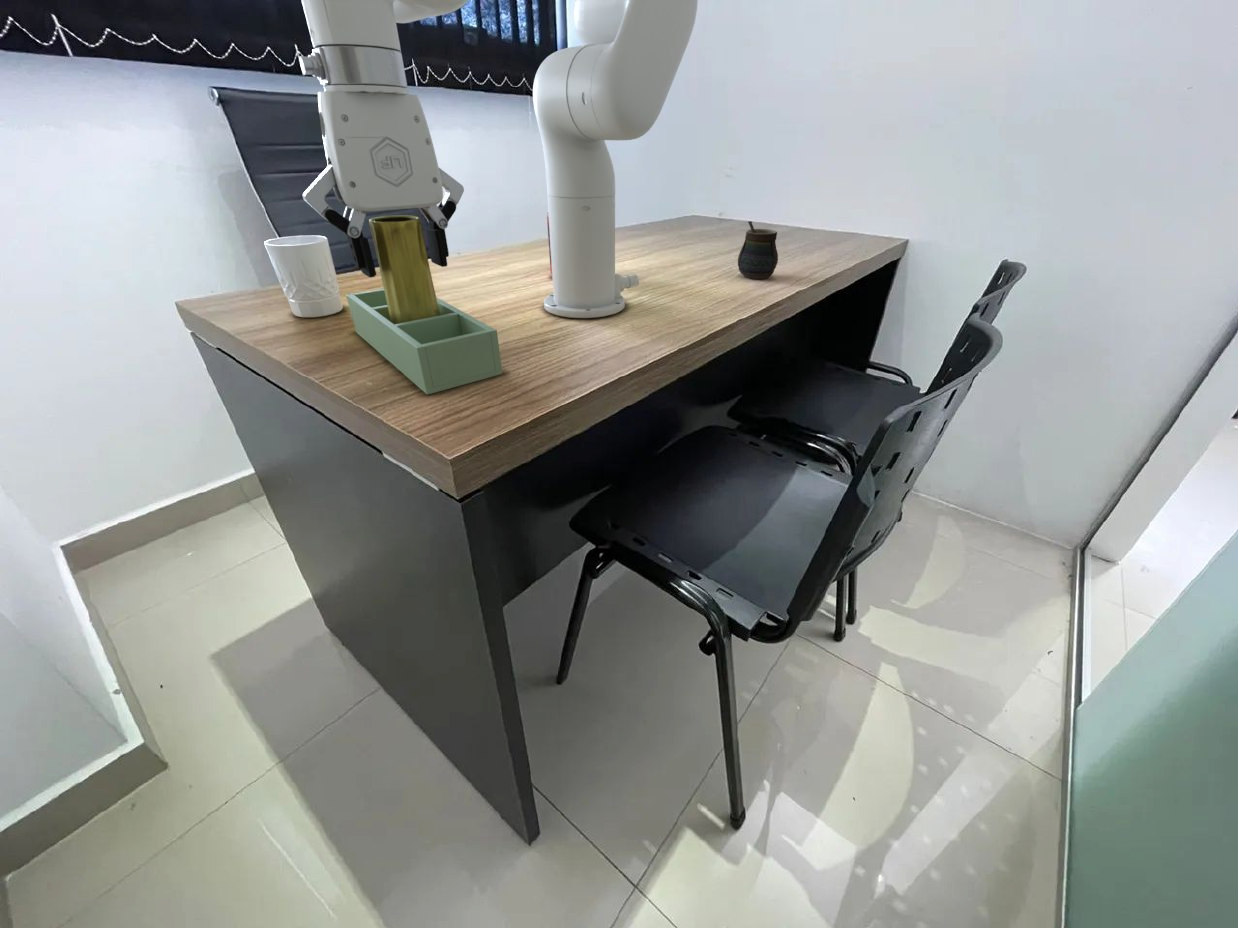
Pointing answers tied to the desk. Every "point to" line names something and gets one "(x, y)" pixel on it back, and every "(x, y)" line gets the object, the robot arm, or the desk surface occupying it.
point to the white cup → (306, 274)
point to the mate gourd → (758, 253)
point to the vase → (404, 268)
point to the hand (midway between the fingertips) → (405, 268)
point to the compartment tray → (429, 343)
